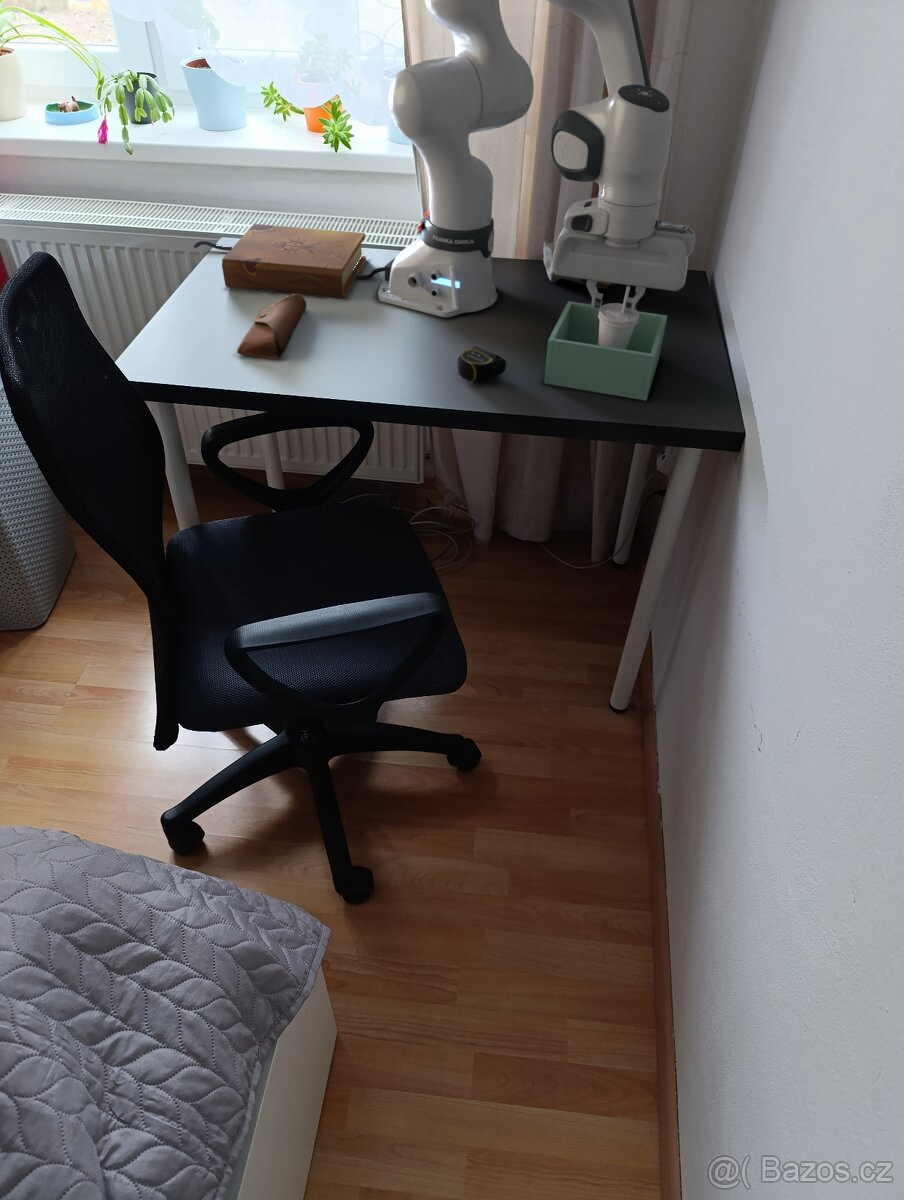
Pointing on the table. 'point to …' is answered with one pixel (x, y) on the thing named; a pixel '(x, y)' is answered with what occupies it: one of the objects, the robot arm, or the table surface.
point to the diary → (294, 261)
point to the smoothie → (616, 324)
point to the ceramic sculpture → (553, 277)
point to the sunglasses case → (273, 328)
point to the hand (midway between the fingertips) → (612, 308)
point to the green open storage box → (603, 354)
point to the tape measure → (480, 365)
